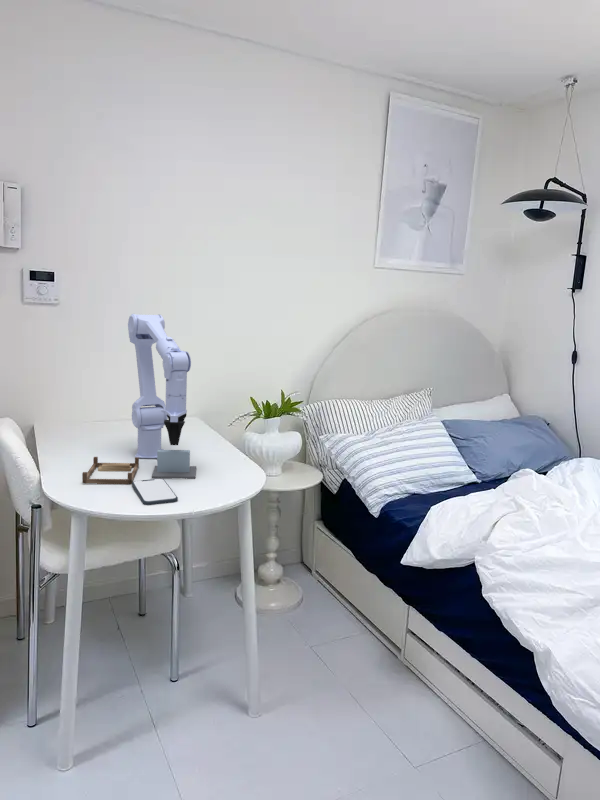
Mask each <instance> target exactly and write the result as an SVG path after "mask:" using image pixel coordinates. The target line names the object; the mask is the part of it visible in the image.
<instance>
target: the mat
mask: <svg viewBox="0 0 600 800" xmlns="http://www.w3.org/2000/svg"><path fill="white" fill-rule="evenodd" d="M196 477H197V465H190V470H189V472H157V465H154V468H153V471H152V474H151V479H172V478H185V480H186V478H187V480H188V479H193V480H194V479H196Z"/></svg>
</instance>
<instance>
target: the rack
mask: <svg viewBox="0 0 600 800" xmlns="http://www.w3.org/2000/svg"><path fill="white" fill-rule="evenodd" d="M98 459H99V457H98V456H93V464H92V465H91V466H90V467H89V469H88V471H83V472H82V473H81V474H82V475H81V476H82V483H97V484H96V485H132V482H134V481H135V480H134V479H135V477H136V475H137V472H138V470H139V469H140V468H139V467H140V463H139V462H140V458H139V457H135V456H134V462H129V463H130V466H132V470H131V472H130V471H127V478H91V477H90V476H93V474H94V472H95V471H96V469H97V468H96V467H99V466H102V464H103V463H104V462H99V460H98ZM94 470H95V471H94ZM92 473H93V474H92Z"/></svg>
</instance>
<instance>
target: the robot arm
mask: <svg viewBox="0 0 600 800" xmlns="http://www.w3.org/2000/svg"><path fill="white" fill-rule="evenodd" d="M165 328H166V323H165V319H164V317H163V315H162V314H136V313H131V314H130V316H129V318H128V323H127V329H128V330H127V331H128V338H129V342H130V343H132V344H134V347H135V357H136V358H135V359H136V365H137V377H138V387H139V398H138V399H136V400H135V401H134V402H133V403H132V406H131V409H132V411H131V421H132V424H133V427H135V428H136V429H137V451H136V453H135V455H134V458H135V457H139V459H157V451H158V450H165V449H164V448H162V429H164V426H165V428H166V431H167V435H168V440H169V445H170V446H179V443H180V439H181V434H182V429H183V427H184V426H185V423H186V421H185V419H186V417H187V412H188V409H187V389H188V388H187V387H188V383H187V382H188V372H190V370H191V367H192V360H191V359H192V358H191V355H190V353H189V352H188V351H185V350H181V348H180V346H179V345H178V344H177V342H176V341H175V339H174V338H173V337H172V336H168V334H167V333H166V331H165ZM153 344H155V349H156V351H157V352H158V354H159V356H160V358H161V359H162V367H163V375H164V379H165V401H164V400H163V399H162V398H161V397H159V396H157V389H156V380H155V379H156V378H155V371H154V363H153V362H154V359H153V350H152V349H153V348H152V347H153Z"/></svg>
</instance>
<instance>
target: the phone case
mask: <svg viewBox="0 0 600 800" xmlns="http://www.w3.org/2000/svg"><path fill="white" fill-rule="evenodd" d="M131 488H132V489H133V491H134V492H135V494H136V495H137V498H138V499H139V501H141V503H142V505H144V506H155V505H164V504H165V505H166V504H172V503H173V504H174V503H178V501H179V497H178V496H177V494H176V493H175V492H174V491H173V489H172V488H171V487H170V486H169V484H168V483H167V482H166V479H165V478H151V479H143V480H141V479H140V480H133V482H132V484H131Z"/></svg>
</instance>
